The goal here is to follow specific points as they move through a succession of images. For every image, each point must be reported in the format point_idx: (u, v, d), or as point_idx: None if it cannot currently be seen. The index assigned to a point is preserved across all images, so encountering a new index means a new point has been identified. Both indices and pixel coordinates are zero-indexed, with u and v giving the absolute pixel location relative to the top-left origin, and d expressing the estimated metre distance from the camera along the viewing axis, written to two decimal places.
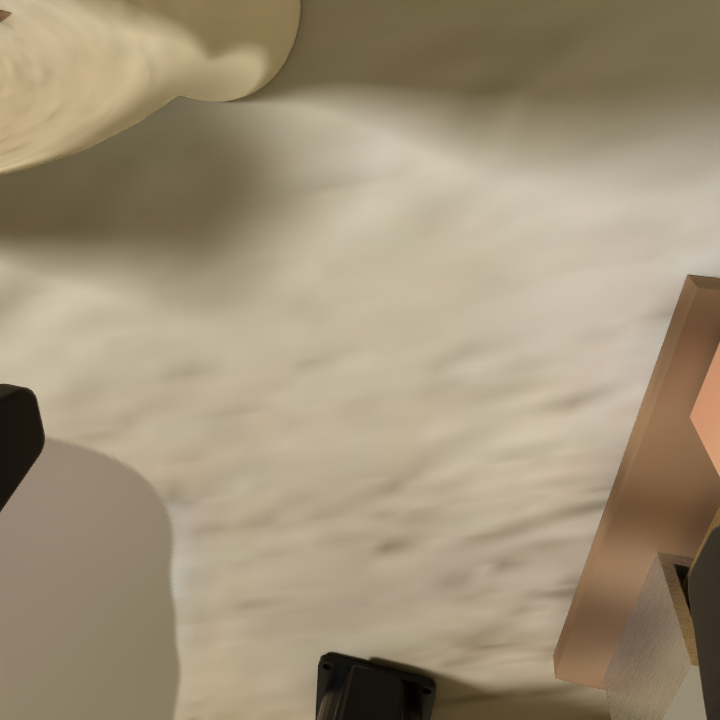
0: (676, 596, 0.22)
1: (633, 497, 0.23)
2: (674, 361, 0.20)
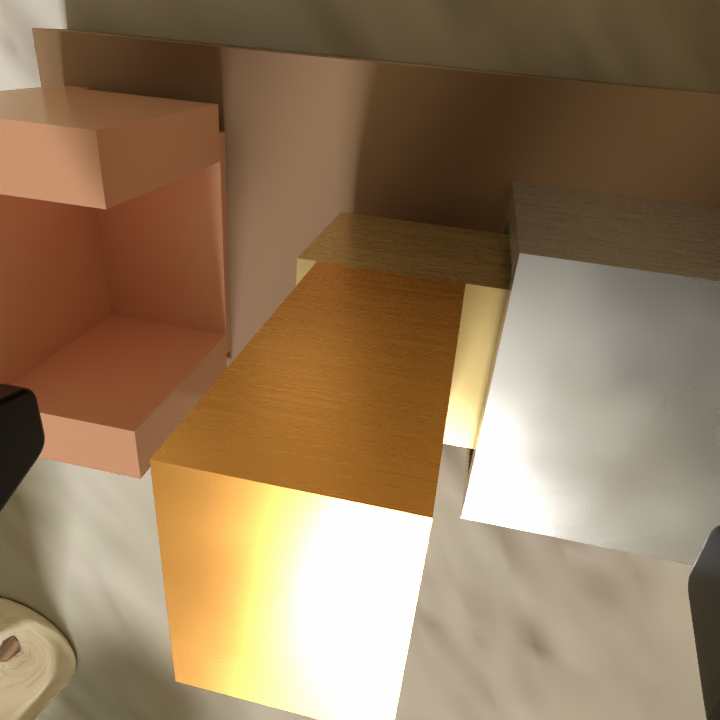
0: None
1: None
2: None
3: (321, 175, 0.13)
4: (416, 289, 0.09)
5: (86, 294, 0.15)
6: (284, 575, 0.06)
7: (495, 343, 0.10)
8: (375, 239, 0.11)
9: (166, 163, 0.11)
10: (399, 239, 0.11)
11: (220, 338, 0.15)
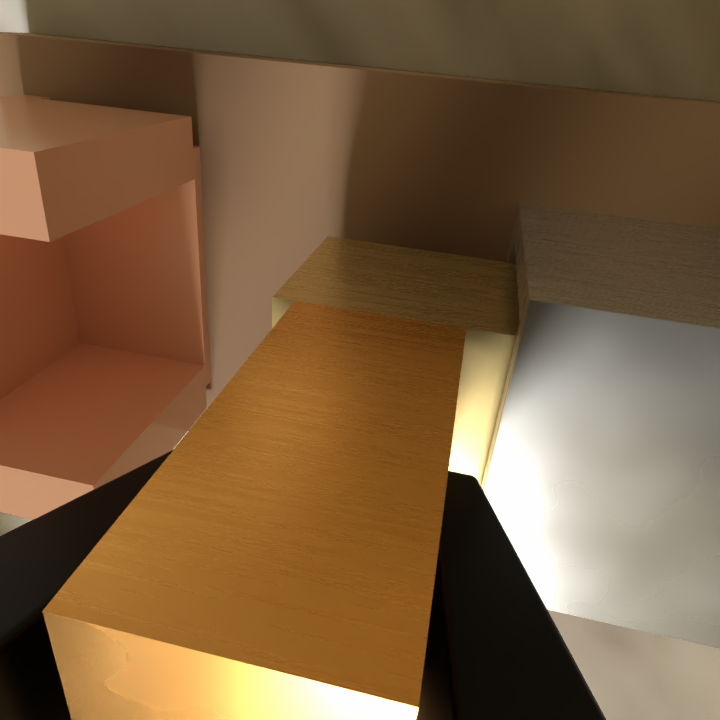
0: None
1: None
2: None
3: (306, 194, 0.12)
4: (408, 337, 0.08)
5: (51, 322, 0.14)
6: None
7: (501, 396, 0.09)
8: (364, 270, 0.10)
9: (127, 184, 0.10)
10: (391, 270, 0.10)
11: (198, 370, 0.14)
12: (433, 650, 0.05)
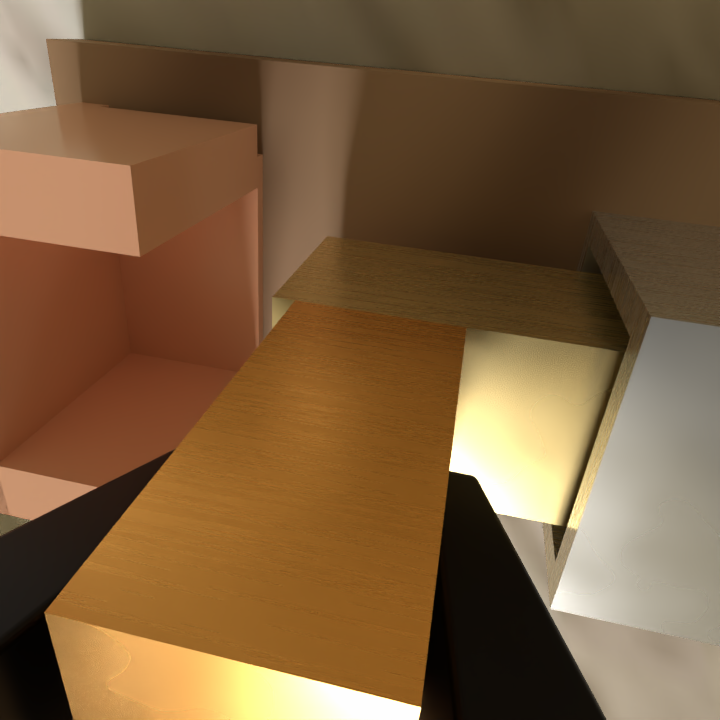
0: None
1: None
2: None
3: (371, 203, 0.12)
4: (408, 336, 0.08)
5: (105, 333, 0.13)
6: None
7: (501, 395, 0.09)
8: (364, 270, 0.10)
9: (204, 195, 0.10)
10: (391, 270, 0.10)
11: None
12: (433, 650, 0.05)
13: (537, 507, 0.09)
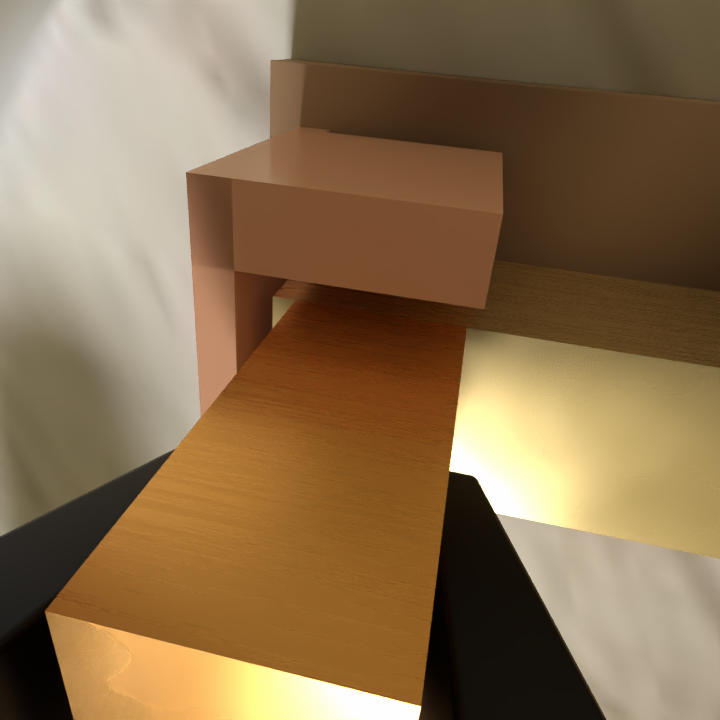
0: None
1: None
2: None
3: (611, 234, 0.11)
4: (408, 336, 0.08)
5: None
6: None
7: (501, 395, 0.09)
8: None
9: None
10: None
11: None
12: (433, 650, 0.05)
13: (537, 507, 0.09)
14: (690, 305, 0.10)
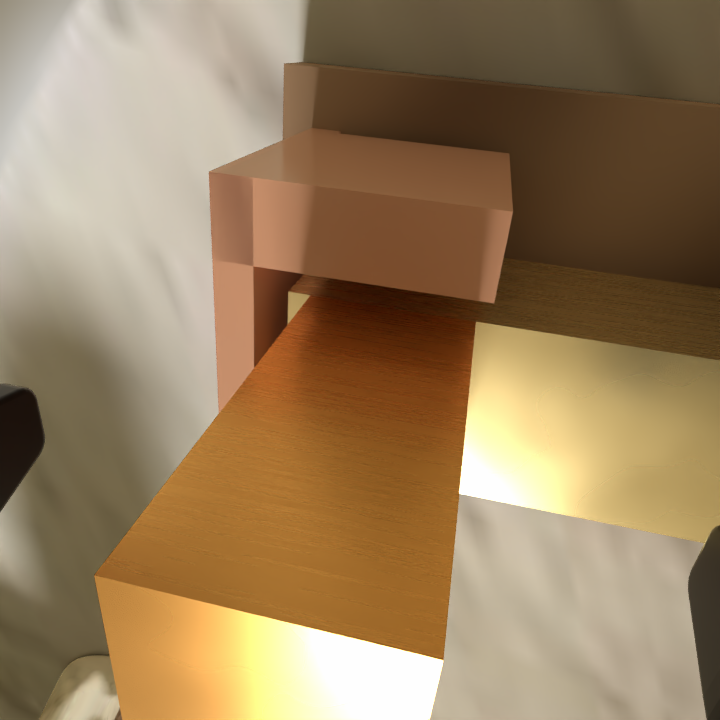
0: None
1: None
2: None
3: (614, 233, 0.12)
4: (421, 330, 0.08)
5: None
6: (260, 709, 0.05)
7: (508, 386, 0.09)
8: None
9: None
10: None
11: None
12: None
13: (542, 497, 0.10)
14: (691, 301, 0.10)
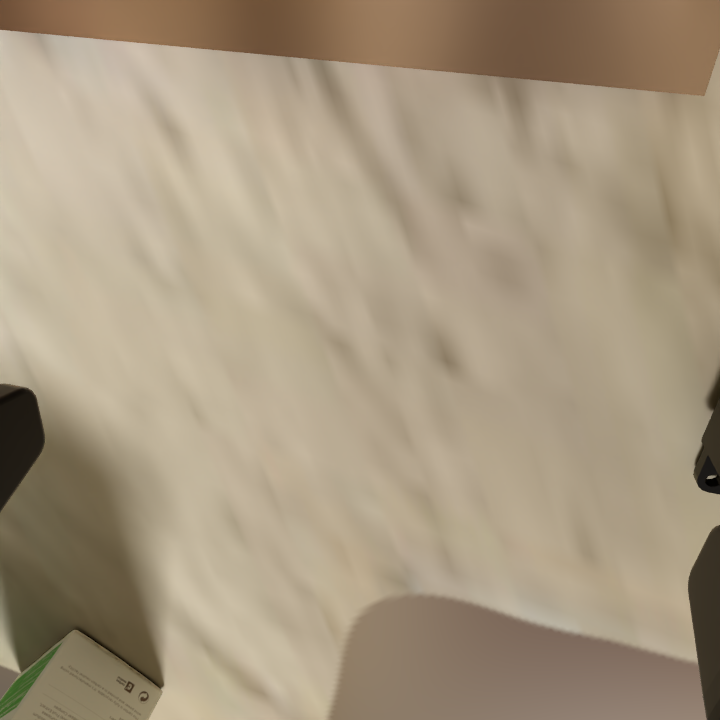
0: None
1: (247, 34, 0.15)
2: (46, 28, 0.16)
3: None
4: None
5: None
6: None
7: None
8: None
9: None
10: None
11: None
12: None
13: None
14: None
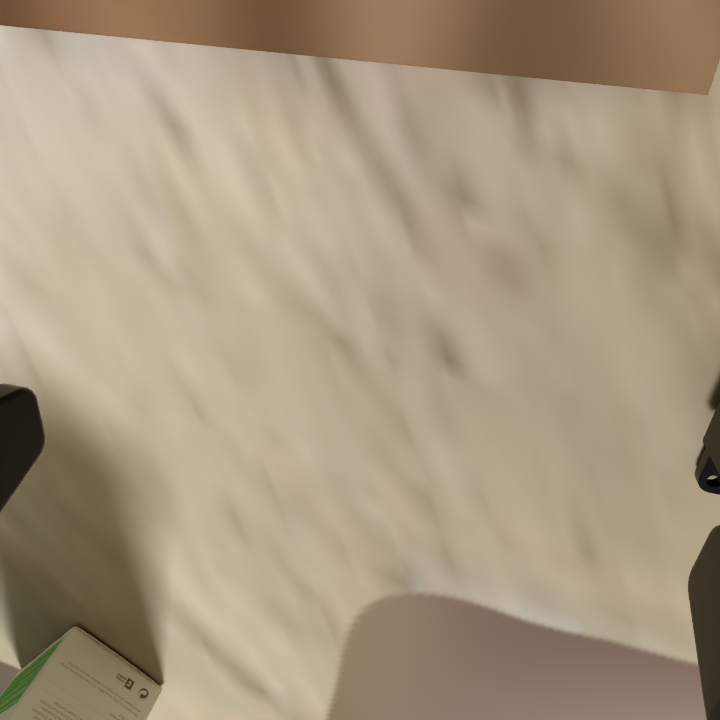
0: None
1: (251, 31, 0.16)
2: (52, 24, 0.17)
3: None
4: None
5: None
6: None
7: None
8: None
9: None
10: None
11: None
12: None
13: None
14: None
